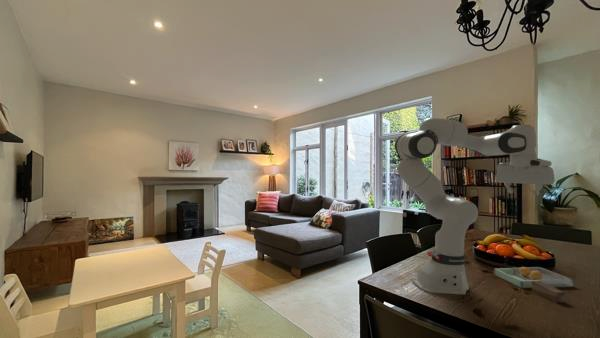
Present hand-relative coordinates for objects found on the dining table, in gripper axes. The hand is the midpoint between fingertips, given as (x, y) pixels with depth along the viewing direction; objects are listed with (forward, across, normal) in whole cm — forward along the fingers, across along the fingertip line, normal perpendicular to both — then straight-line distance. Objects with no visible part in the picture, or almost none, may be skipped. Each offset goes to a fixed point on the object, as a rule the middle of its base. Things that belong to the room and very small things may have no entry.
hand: (522, 194), depth 113 cm
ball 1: (+37, -5, +11) cm, 39 cm away
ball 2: (+37, 0, +10) cm, 38 cm away
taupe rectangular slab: (+40, +9, -2) cm, 42 cm away
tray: (+40, -5, +3) cm, 41 cm away
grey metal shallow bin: (+40, -1, +14) cm, 43 cm away
